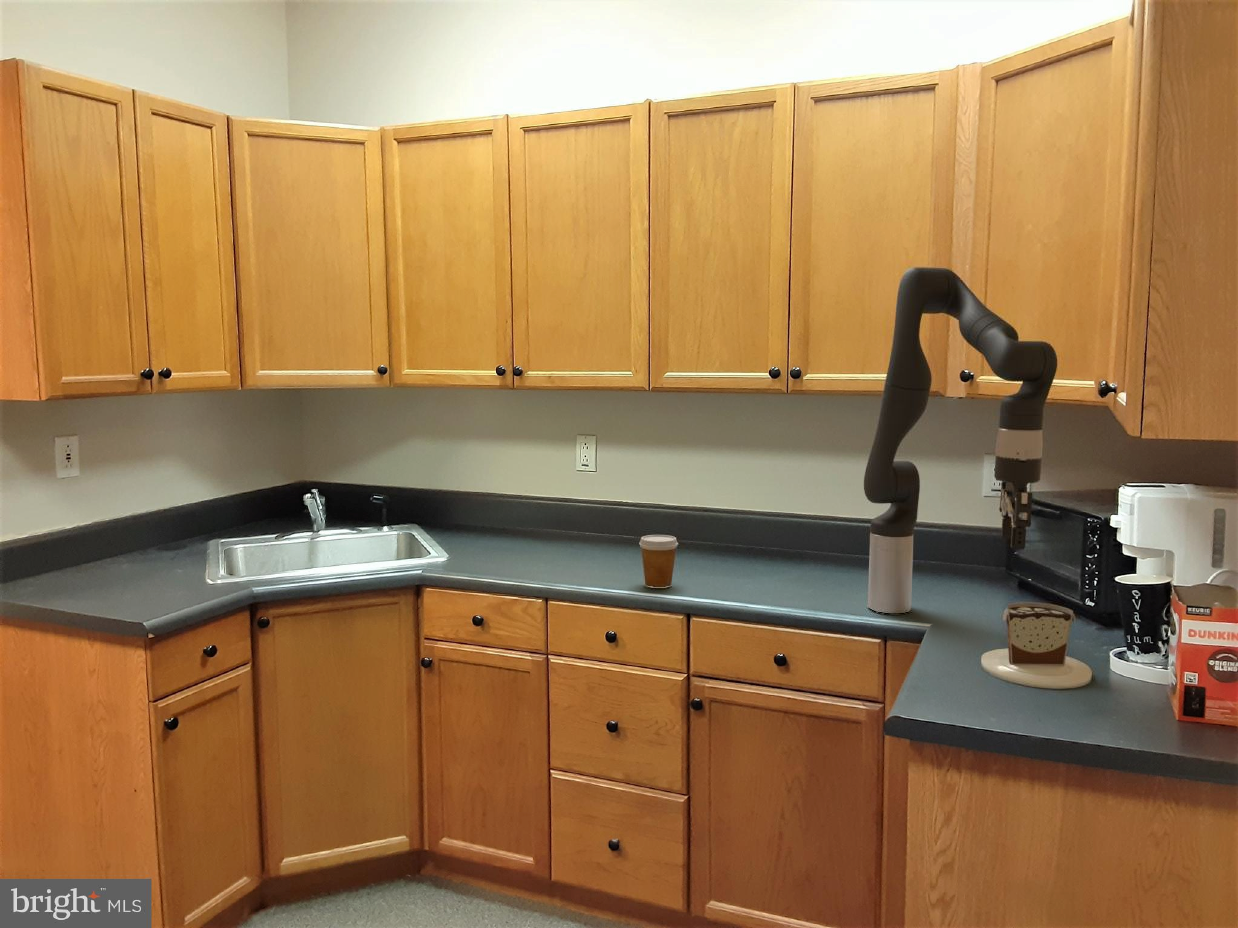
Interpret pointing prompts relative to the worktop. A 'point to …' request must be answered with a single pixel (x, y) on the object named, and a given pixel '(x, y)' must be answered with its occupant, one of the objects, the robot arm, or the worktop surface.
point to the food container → (1038, 633)
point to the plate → (1036, 672)
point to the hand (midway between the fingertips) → (1012, 543)
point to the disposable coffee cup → (658, 559)
